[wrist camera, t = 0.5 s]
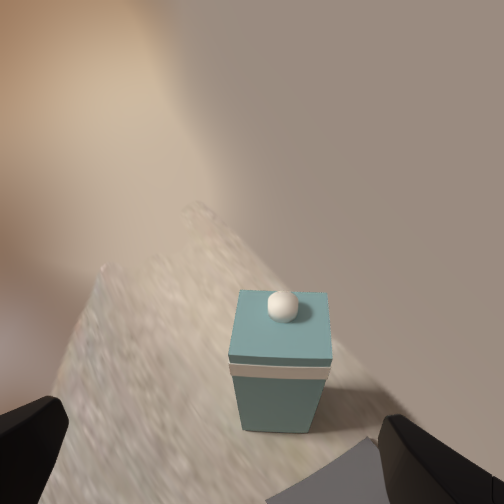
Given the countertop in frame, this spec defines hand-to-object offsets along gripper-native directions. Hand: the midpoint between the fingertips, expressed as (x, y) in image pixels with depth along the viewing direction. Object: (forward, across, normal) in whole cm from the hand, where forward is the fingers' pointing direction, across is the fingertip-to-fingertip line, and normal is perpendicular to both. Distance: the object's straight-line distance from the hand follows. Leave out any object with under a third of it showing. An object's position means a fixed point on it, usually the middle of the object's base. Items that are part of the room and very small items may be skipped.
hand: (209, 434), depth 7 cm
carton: (+14, -2, +11) cm, 18 cm away
